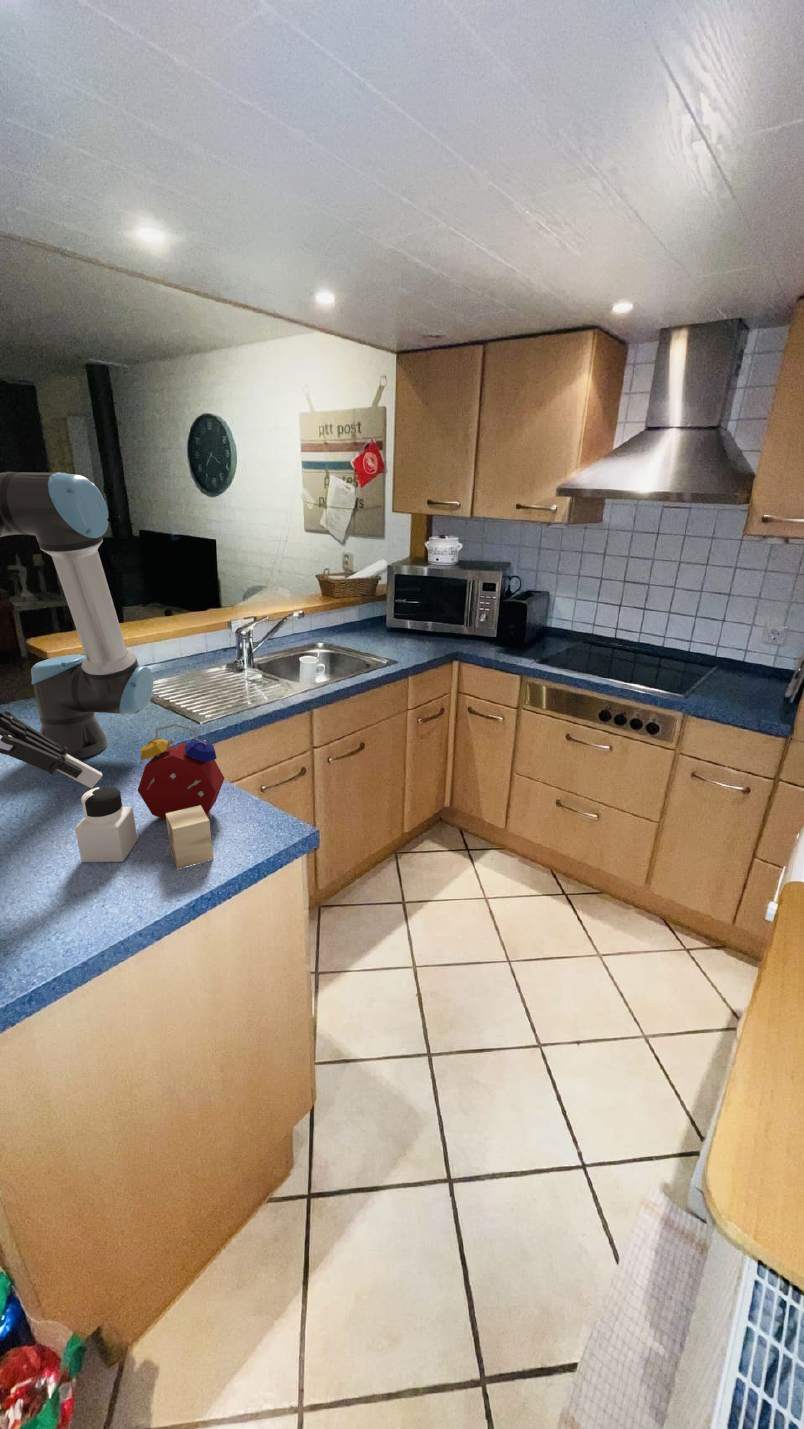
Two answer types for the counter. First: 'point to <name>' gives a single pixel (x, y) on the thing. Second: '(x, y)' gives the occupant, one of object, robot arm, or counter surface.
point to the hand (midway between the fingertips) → (96, 780)
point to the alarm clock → (179, 775)
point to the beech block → (189, 836)
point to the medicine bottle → (105, 827)
